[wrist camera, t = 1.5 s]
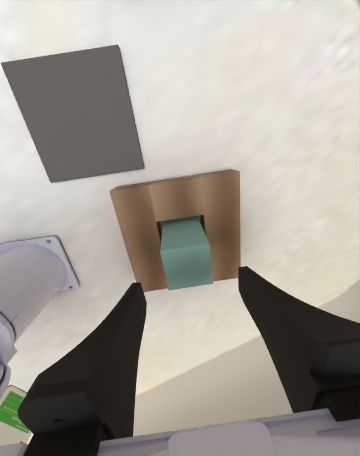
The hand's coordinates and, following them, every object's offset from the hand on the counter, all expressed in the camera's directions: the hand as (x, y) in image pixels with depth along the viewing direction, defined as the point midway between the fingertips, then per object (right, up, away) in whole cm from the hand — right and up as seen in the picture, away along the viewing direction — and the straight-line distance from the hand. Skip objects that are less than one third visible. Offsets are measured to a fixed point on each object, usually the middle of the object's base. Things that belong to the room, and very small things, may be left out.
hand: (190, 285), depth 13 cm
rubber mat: (-10, +14, +4) cm, 18 cm away
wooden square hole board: (-1, +4, +9) cm, 10 cm away
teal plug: (-1, +4, +9) cm, 10 cm away
